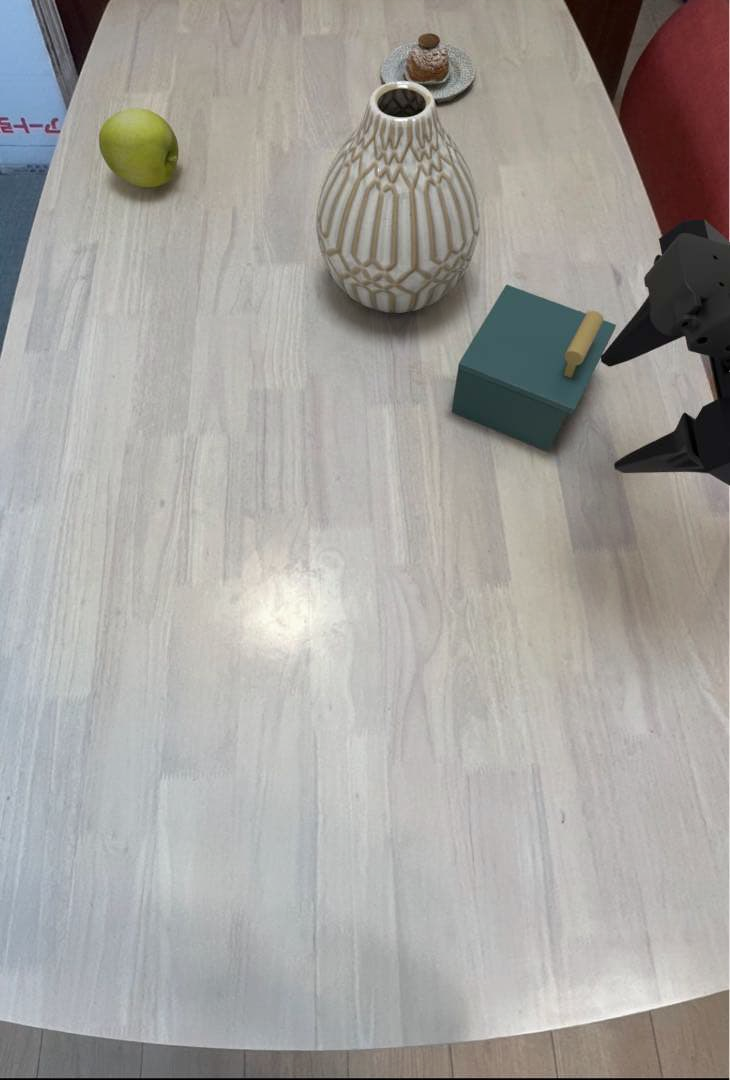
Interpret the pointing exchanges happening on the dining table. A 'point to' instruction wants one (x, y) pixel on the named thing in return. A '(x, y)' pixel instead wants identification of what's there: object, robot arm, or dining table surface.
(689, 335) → the robot arm
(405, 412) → the dining table surface
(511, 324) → the box lid
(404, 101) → the vase
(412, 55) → the pastry
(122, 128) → the apple
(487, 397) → the teal open box
